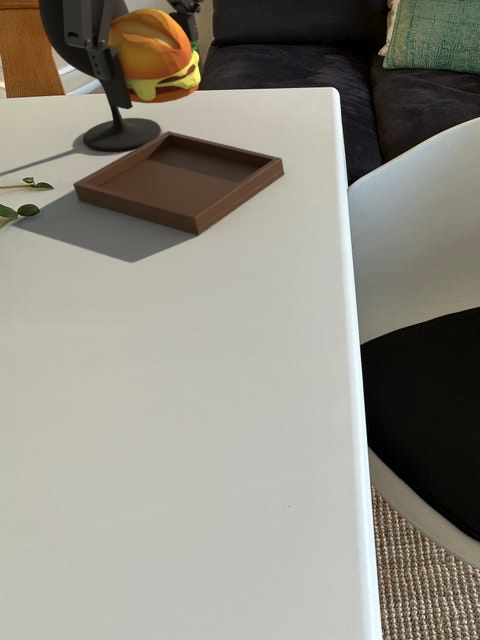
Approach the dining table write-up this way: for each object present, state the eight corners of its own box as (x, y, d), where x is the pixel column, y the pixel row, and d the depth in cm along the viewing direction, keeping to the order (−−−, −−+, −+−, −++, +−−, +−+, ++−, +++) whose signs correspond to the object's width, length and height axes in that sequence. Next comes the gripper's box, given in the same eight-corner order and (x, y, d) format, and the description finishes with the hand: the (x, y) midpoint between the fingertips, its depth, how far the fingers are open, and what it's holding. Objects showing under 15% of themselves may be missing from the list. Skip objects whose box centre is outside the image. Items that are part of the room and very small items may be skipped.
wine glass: (85, 157, 104) (30, -1, 91) (81, 127, 111) (29, -24, 98) (166, 144, 107) (123, -11, 94) (156, 115, 115) (116, -32, 102)
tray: (78, 200, 95) (72, 183, 94) (172, 146, 107) (168, 130, 105) (199, 235, 90) (194, 218, 88) (284, 174, 101) (281, 158, 99)
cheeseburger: (202, 67, 96) (185, -12, 88) (214, 121, 90) (197, 42, 82) (115, 75, 93) (89, -4, 85) (121, 132, 88) (94, 52, 80)
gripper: (27, -111, 66) (106, 132, 81) (209, -149, 82) (248, 59, 97) (-34, -119, 69) (53, 119, 83) (154, -154, 85) (200, 50, 99)
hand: (158, 87), depth 90 cm, fingers closed on cheeseburger, 11 cm apart
